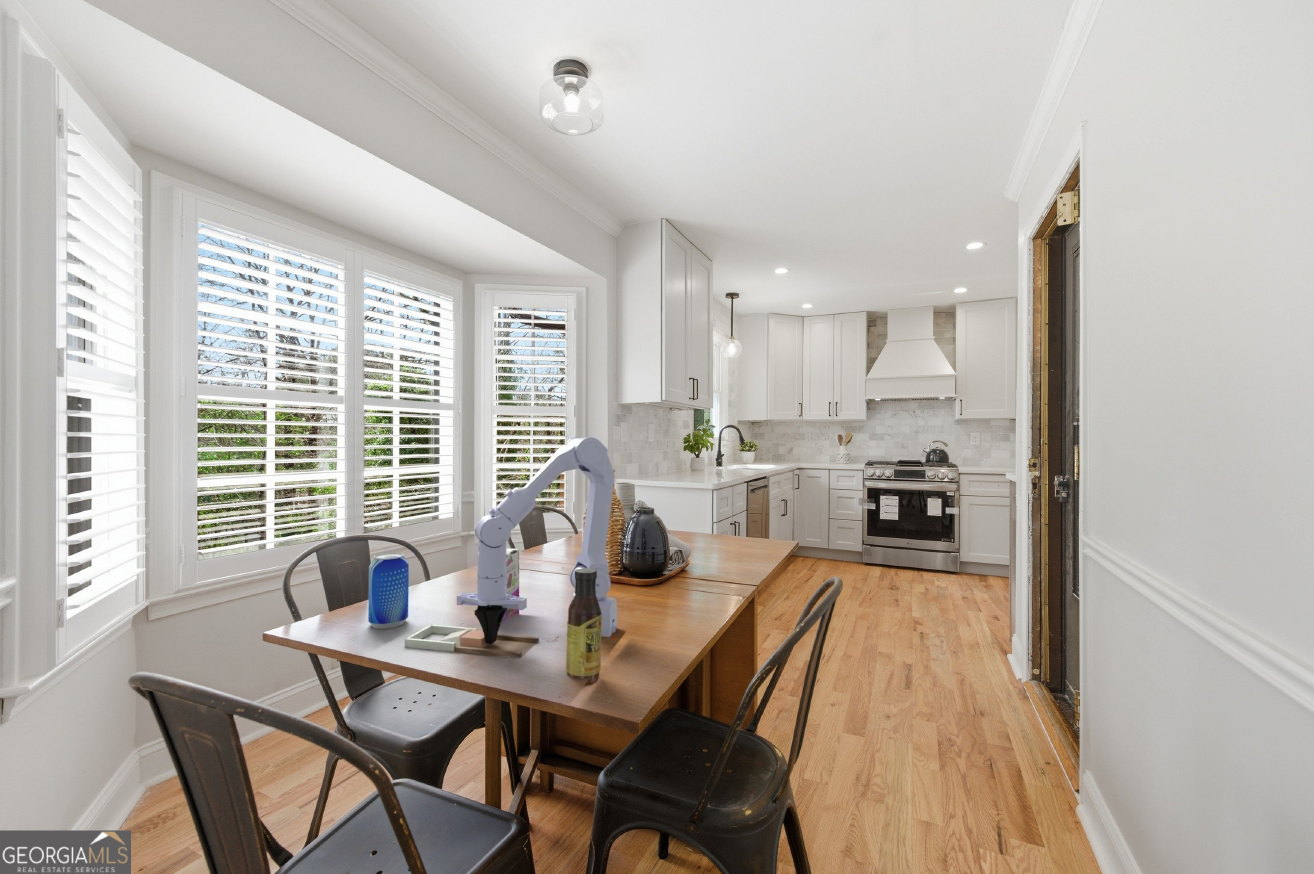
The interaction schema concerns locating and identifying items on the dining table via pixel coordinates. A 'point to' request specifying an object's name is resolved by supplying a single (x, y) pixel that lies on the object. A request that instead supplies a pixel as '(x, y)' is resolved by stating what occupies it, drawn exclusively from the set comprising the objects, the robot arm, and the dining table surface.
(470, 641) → the tile
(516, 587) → the candy bar box
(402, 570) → the beer can
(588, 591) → the sauce bottle
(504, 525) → the robot arm
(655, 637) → the dining table surface
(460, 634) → the tile
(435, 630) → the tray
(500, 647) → the board
